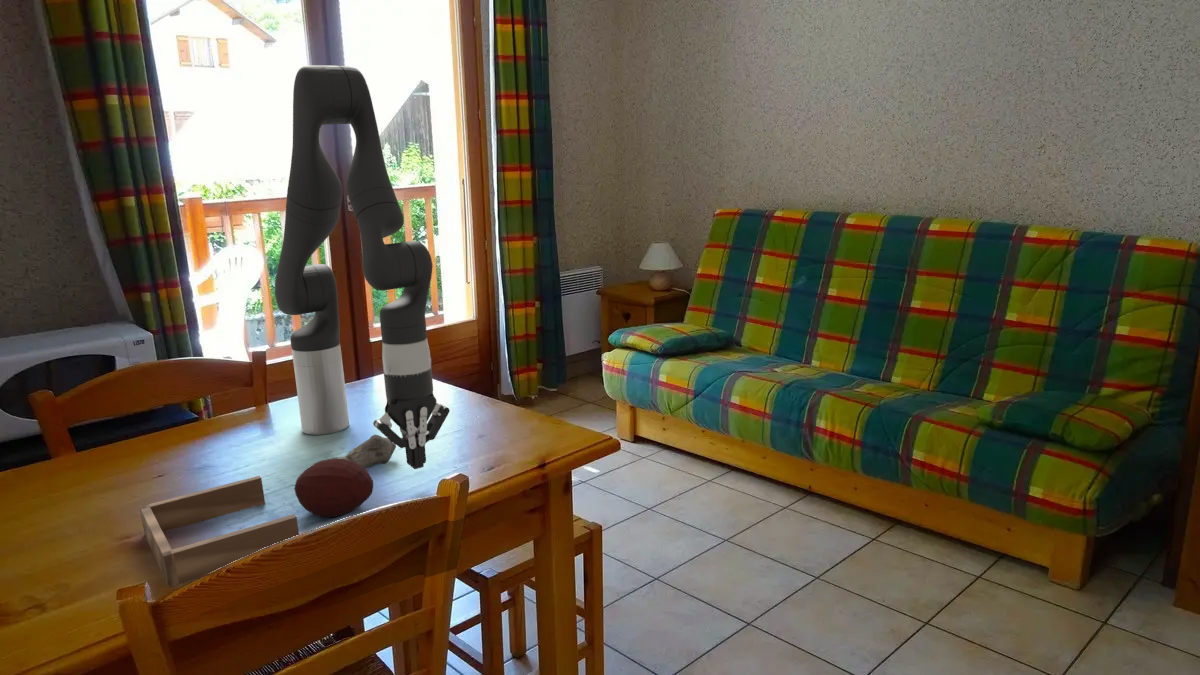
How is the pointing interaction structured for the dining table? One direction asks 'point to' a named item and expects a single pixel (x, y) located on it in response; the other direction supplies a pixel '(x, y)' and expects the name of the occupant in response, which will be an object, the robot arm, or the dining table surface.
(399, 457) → the dining table surface
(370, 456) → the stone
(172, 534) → the dining table surface
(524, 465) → the dining table surface
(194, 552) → the corral
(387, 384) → the robot arm
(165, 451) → the dining table surface
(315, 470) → the potato
